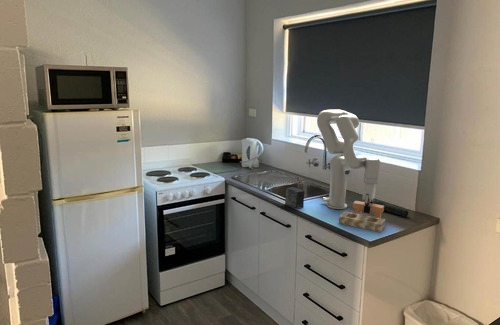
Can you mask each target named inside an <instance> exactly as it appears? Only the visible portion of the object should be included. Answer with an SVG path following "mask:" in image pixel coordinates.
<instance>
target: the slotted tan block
mask: <svg viewBox="0 0 500 325" xmlns="http://www.w3.org/2000/svg"><path fill="white" fill-rule="evenodd" d="M339 223H341V224H340V225H344V226H349V225H350V226H349V227H353V226H354V228H359V229H360V228H361V229H363V230H369V231H372V232H373V231H375V232H378V233H382V231H383V229H384V228H385V226H386V218H382V217H381V218H377V217H374V216H372V215H366V214H362V213H361V214H356V213H354V212H351V211H350V212H349V211H343V212H342V213H341V214H340V215H339V216H338V224H339Z"/></svg>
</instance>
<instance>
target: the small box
mask: <svg viewBox="0 0 500 325" xmlns="http://www.w3.org/2000/svg"><path fill="white" fill-rule="evenodd" d="M284 202H285V205H286V206H288V207H291V208H293V209H301V207H302V208H304V204H305V190H302V189H300V188H297V187H294V186H291V187H286V188H285V201H284Z"/></svg>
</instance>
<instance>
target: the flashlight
mask: <svg viewBox="0 0 500 325" xmlns="http://www.w3.org/2000/svg"><path fill="white" fill-rule="evenodd" d="M372 204H377V205H383V206H384V211H386V212H389V213H392V214H395V215H399V216H403V217H405V218H407V217H408V215H409V211H408V209H404V208H401V207H398V206H394V205H391V204H387V203H385V202H384V201H379V200H373V203H372Z"/></svg>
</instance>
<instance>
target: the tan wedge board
mask: <svg viewBox="0 0 500 325" xmlns="http://www.w3.org/2000/svg"><path fill="white" fill-rule="evenodd" d="M364 204H365V201H359V200H354V202H353V203H352V209H354V212H353V213H356V214H362V210H363V211H364ZM370 212H373V213H374V215H373V217H377V218H382V213H384V212H385V210H384V206H383V205H377V204H373V203H370Z"/></svg>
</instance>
